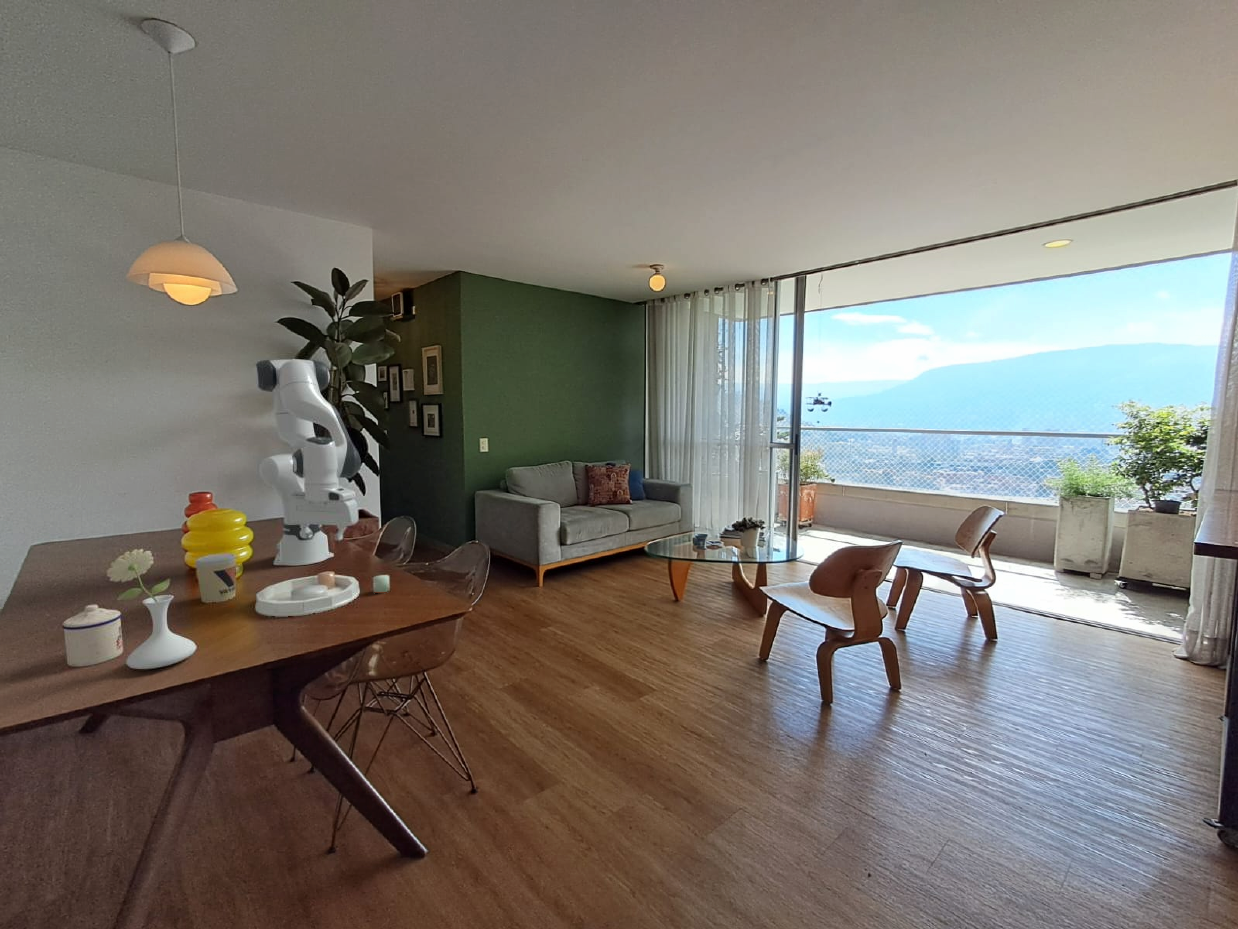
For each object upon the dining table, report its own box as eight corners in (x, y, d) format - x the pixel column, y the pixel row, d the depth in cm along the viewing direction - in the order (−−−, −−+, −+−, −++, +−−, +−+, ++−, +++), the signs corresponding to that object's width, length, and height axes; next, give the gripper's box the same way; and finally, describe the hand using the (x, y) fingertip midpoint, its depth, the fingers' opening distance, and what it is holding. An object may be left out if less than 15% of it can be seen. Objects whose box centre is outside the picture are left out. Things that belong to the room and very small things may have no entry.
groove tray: (251, 597, 153) (250, 585, 153) (348, 580, 169) (347, 569, 169) (260, 624, 133) (260, 611, 133) (370, 602, 150) (369, 590, 149)
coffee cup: (222, 604, 148) (219, 562, 147) (189, 604, 148) (186, 561, 147) (246, 593, 157) (244, 553, 156) (215, 593, 158) (212, 553, 156)
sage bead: (371, 591, 159) (371, 576, 159) (387, 588, 162) (386, 574, 162) (375, 595, 156) (375, 580, 155) (391, 591, 159) (391, 577, 158)
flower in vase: (189, 645, 121) (181, 537, 119) (203, 660, 114) (195, 545, 112) (111, 666, 111) (100, 549, 109) (121, 684, 104) (110, 558, 102)
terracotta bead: (316, 587, 159) (316, 573, 159) (333, 584, 162) (332, 570, 161) (319, 591, 156) (319, 576, 155) (336, 588, 158) (335, 574, 158)
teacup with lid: (131, 654, 117) (127, 603, 116) (74, 672, 109) (69, 616, 108) (110, 643, 123) (106, 593, 122) (54, 658, 115) (49, 606, 114)
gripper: (281, 493, 154) (283, 540, 156) (347, 495, 152) (349, 543, 153) (296, 490, 160) (298, 535, 162) (360, 492, 158) (362, 538, 160)
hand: (323, 539), depth 158 cm, fingers open, 8 cm apart
